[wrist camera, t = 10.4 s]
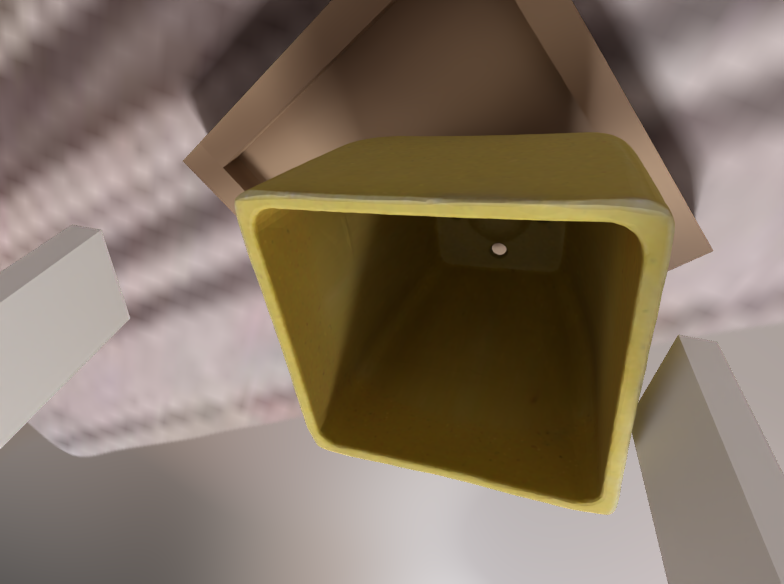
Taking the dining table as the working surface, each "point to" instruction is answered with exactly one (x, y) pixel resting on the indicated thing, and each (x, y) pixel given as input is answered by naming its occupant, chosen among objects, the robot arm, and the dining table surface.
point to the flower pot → (469, 304)
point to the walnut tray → (430, 92)
